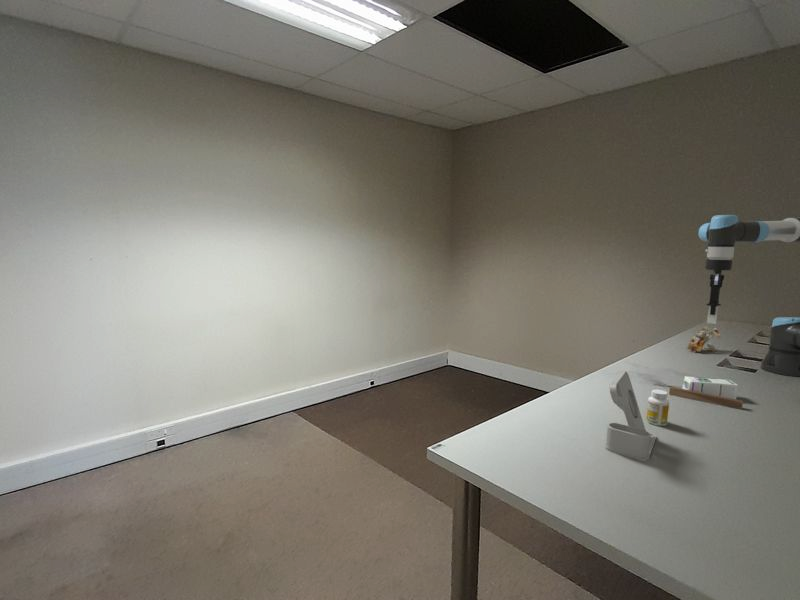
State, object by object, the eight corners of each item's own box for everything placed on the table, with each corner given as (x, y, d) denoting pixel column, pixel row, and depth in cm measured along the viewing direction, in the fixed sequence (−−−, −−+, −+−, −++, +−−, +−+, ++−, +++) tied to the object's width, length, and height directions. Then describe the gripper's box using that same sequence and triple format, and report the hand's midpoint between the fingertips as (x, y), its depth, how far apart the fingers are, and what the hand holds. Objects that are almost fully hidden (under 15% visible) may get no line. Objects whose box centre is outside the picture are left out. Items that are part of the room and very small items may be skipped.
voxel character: (683, 353, 205) (697, 337, 211) (705, 363, 198) (719, 345, 204) (689, 337, 198) (703, 321, 204) (711, 347, 191) (726, 329, 197)
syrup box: (738, 384, 140) (690, 380, 143) (736, 401, 140) (688, 396, 144) (729, 379, 145) (683, 375, 148) (727, 395, 146) (681, 390, 149)
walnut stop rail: (669, 392, 147) (670, 386, 147) (741, 407, 135) (742, 400, 134) (669, 394, 146) (669, 388, 145) (741, 409, 133) (742, 402, 133)
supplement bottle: (664, 419, 125) (667, 389, 124) (669, 427, 120) (672, 396, 119) (644, 417, 127) (647, 387, 125) (648, 424, 122) (651, 393, 120)
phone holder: (647, 463, 101) (654, 393, 98) (602, 449, 107) (608, 384, 105) (656, 436, 115) (663, 375, 112) (616, 426, 121) (622, 367, 118)
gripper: (707, 257, 154) (700, 319, 157) (705, 259, 144) (697, 324, 147) (732, 258, 149) (724, 321, 153) (732, 259, 139) (723, 327, 143)
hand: (711, 323), depth 150 cm, fingers closed
